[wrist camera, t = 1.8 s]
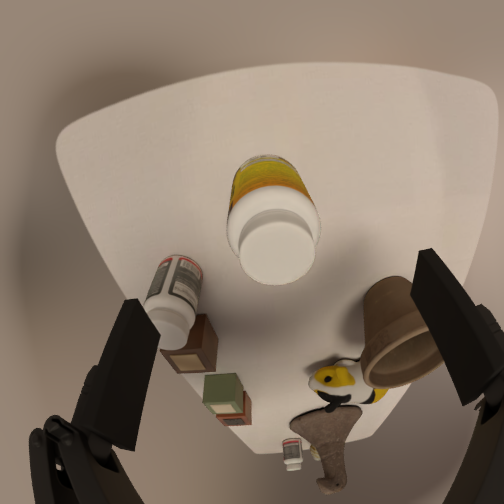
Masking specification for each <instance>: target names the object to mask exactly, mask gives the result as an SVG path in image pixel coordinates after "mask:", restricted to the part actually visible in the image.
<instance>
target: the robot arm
mask: <svg viewBox="0 0 504 504" xmlns="http://www.w3.org/2000/svg"><path fill="white" fill-rule="evenodd" d="M410 296H411V298H412V300H413V301H414V303H415V305H416V307H417V309H418V310H419V312H420V314H421V316H422V318H423V320H424V322H425V323H426V325H427V327H428V329H429V331H430V333H431V335H432V337H433V339H434V341H435V343H436V345H437V347H438V349H439V352H440V354H441V356H442V358H443V360H444V362H445V365H446V367H447V369H448V371H449V374H450V376H451V378H452V381H453V383H454V385H455V388H456V390H457V393H458V396H459V398H460V401H461V403H462V406H465V405H467V404H469V403H470V402H472V401H474V400H476V399H477V398H478V397H479V396H480V395H481V394H482V393H484V396H485V397H484V398H483V399H482V400H481V401H480V402H479V403H478V404H477V405H476V407H475V409H474V410H477V409H478V408H479V407H480V406H481V408H480V410H479V411H480V412H479V416H478V419H477V422H476V426H475V429H474V432H473V435H472V438H471V441H470V444H469V446H468V449H467V452H466V454H465V457H464V459H463V462H462V465H461V467H460V469H459V471H458V473H457V476H456V478H455V480H454V482H453V484H452V487H451V488H450V491H449V492H448V494H447V496H446V498H445V500H444V502H443V503H442V504H504V332H503V331H502V330H501V327H500V326H499V324H498V323H497V322H496V319H495V318H494V316H493V315H492V313H491V312H490V311H489V310H488V309H487V308H486V307H484V306H483V305H482V304H480V305H477V306H475V304H474V303H473V301H472V300H471V298H470V297H469V296H468V294H467V293H466V292H465V290H464V289H463V287H462V286H461V284H460V283H459V282H458V280H457V279H456V278H455V276H454V275H453V274H452V272H451V271H450V270H449V269H448V267H447V266H446V265H445V263H444V262H443V261H442V260H441V258H440V257H439V256H438V255H437V254H436V252H435V251H434V250H433V249H432V248H430V249H425V250H421V251H419V253H418V259H417V264H416V269H415V274H414V279H413V283H412V288H411V292H410ZM160 337H161V334H160V333H159V331H158V330H157V328H156V327H155V325H154V324H153V322H152V321H151V319H150V318H149V316H148V314H147V313H146V311H145V310H144V308H143V306H142V305H141V303H140V302H139V300H138V298H137V299H129V300H125V301H124V303H123V305H122V308H121V310H120V312H119V314H118V317H117V319H116V321H115V324H114V326H113V328H112V331H111V333H110V336H109V338H108V341H107V343H106V345H105V348H104V351H103V353H102V356H101V358H100V361H99V364H98V366H97V365H94V366H93V367H92V369H91V370H90V371H89V373H88V374H87V377H86V379H85V382H84V386H83V388H82V391H81V394H80V396H79V399H78V402H77V406H76V409H75V412H74V415H73V418H72V421H71V423H69V422H67V421H65V420H64V419H63V418H61V417H60V416H58V415H53V416H50V417H49V418H48V419H47V420H46V422H45V424H44V428H43V430H42V429H41V428H36V429H34V430H33V431H32V432H31V434H30V437H29V455H30V469H31V478H32V486H33V492H34V498H35V504H144V502H143V501H142V499H141V498H140V496H139V495H138V493H137V491H136V490H135V488H134V486H133V485H132V483H131V481H130V480H129V478H128V476H127V474H126V472H125V471H124V469H123V467H122V465H121V463H120V461H119V459H118V457H117V455H116V453H115V452H114V450H113V449H112V444H113V445H114V446H116V447H118V448H120V449H125V450H129V451H135V446H136V441H137V435H138V430H139V425H140V420H141V416H142V410H143V406H144V401H145V397H146V392H147V388H148V384H149V380H150V376H151V372H152V368H153V364H154V360H155V356H156V352H157V348H158V344H159V341H160ZM56 464H58V465H60V466H61V470H57V469H56Z"/></svg>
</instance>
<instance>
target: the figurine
mask: <svg viewBox="0 0 504 504" xmlns="http://www.w3.org/2000/svg"><path fill="white" fill-rule="evenodd" d="M308 384H309V387H310V388H311V389H312V390H313V391H314V392H316V393H317V394H318V395H319V396H320V397H321V398H322V399H323V400H325V401H327V402H330V404H328V405H327V406H326V407H325V412H326V413H331V412H333V411H334V410H335V409H336V408H337V407H338V406H339V405H340V404H341V403H359V404H372V403H375V402H377V401H379V400H380V399H381V398H382V397H383V396H384V395H385V394H386V392H387V391H388V389H375V388H372V387H369V386H368V385H366V384H365V382H364V380H363V374H362V370H361V365H360V361H358V362H354V361H352V360H340V361H338V362H336V363H335V364H334V366H326V367H323V368H320V369H318V370H317V371H315V372H314V373H313V374H312V375H311V377H310V378H309V383H308Z"/></svg>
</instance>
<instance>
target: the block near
mask: <svg viewBox="0 0 504 504" xmlns="http://www.w3.org/2000/svg"><path fill="white" fill-rule="evenodd" d="M217 349H218V337H217V335H216V333H215V331H214V329H213V327H212V325H211V323H210V321H209V319H208V317H207V315H206V314H201V315H196V318H195V322H194V324H193V326H192V328H191V329H190V330H189V335H188V339H187V343H186V345H185V346H184V347H182V348H180V349H177V350H164V349H160V352H161V353H162V355H163V356H164V357H165V359H166V360H167V361H168V362H169V364H170V365H171V366H172V367H173V369H174V370H175V371H176V372H177V373H202V372H216V362H217Z"/></svg>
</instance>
